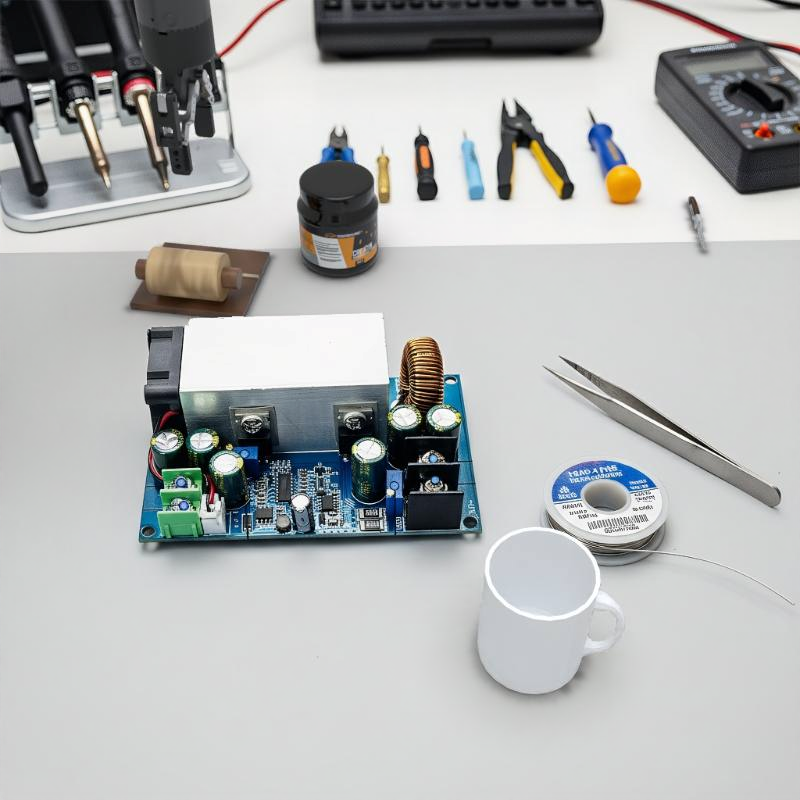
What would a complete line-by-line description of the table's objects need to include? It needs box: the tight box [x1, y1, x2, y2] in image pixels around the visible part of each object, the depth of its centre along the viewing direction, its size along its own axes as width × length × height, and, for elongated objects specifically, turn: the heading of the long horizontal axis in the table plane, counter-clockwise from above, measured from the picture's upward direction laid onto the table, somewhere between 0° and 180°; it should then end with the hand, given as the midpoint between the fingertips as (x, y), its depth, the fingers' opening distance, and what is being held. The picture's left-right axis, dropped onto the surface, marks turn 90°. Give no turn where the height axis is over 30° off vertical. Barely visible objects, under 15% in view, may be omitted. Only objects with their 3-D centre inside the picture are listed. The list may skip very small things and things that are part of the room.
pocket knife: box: [687, 195, 706, 251], centre depth 139 cm, size 14×1×2 cm, turn 176°
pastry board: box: [129, 241, 271, 318], centre depth 129 cm, size 15×14×1 cm
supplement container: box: [296, 160, 380, 278], centre depth 129 cm, size 10×10×12 cm
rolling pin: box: [134, 245, 242, 301], centre depth 123 cm, size 13×6×6 cm, turn 81°
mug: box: [476, 526, 626, 695], centre depth 85 cm, size 10×12×12 cm
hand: (194, 154), depth 112 cm, fingers open, 8 cm apart
